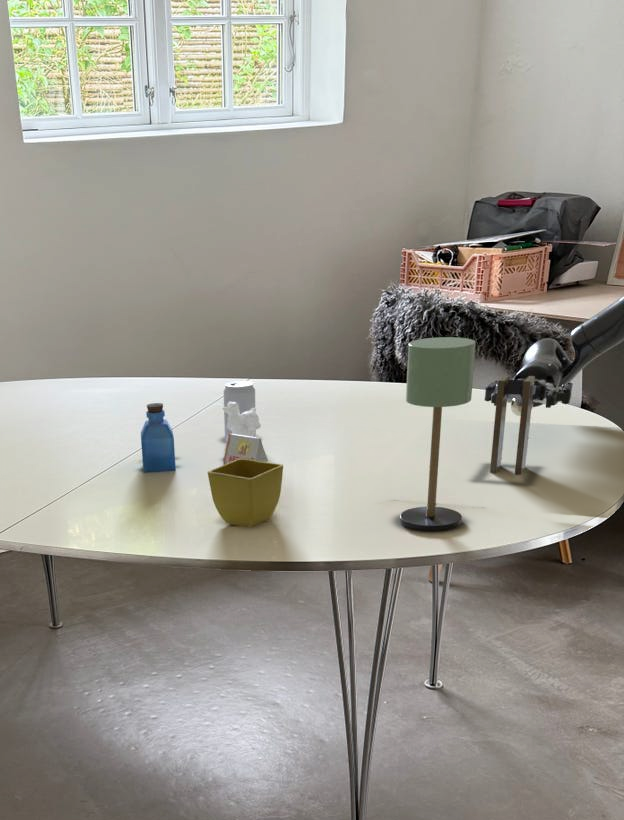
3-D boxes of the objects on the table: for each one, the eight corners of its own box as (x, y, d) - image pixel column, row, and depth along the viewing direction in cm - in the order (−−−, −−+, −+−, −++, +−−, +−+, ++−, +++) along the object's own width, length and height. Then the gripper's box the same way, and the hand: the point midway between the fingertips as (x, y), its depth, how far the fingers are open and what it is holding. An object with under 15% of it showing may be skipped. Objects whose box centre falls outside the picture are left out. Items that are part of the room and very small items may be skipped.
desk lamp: (442, 512, 149) (454, 335, 138) (472, 530, 142) (488, 343, 130) (389, 520, 148) (397, 341, 136) (417, 538, 140) (428, 350, 128)
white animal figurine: (234, 471, 178) (232, 407, 173) (212, 464, 183) (210, 402, 178) (268, 461, 182) (268, 398, 177) (246, 455, 187) (244, 394, 182)
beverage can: (229, 437, 200) (227, 380, 195) (259, 438, 198) (258, 380, 193) (221, 445, 195) (219, 386, 190) (252, 446, 193) (250, 386, 188)
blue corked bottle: (175, 470, 182) (171, 407, 176) (143, 472, 182) (138, 409, 176) (174, 461, 187) (170, 400, 182) (142, 463, 187) (138, 402, 182)
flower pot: (208, 525, 152) (205, 471, 148) (241, 510, 157) (239, 457, 153) (252, 535, 146) (251, 479, 142) (285, 519, 152) (285, 464, 148)
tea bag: (237, 486, 169) (236, 431, 165) (268, 492, 165) (267, 435, 160) (224, 492, 167) (222, 435, 163) (254, 498, 163) (253, 440, 158)
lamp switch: (510, 417, 168) (513, 397, 167) (532, 418, 166) (535, 398, 166) (501, 397, 156) (504, 375, 156) (524, 398, 154) (528, 376, 154)
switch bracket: (488, 467, 169) (497, 371, 161) (536, 471, 165) (547, 372, 157) (476, 484, 161) (485, 383, 153) (526, 488, 157) (537, 385, 150)
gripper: (575, 403, 175) (563, 424, 163) (495, 400, 182) (477, 420, 169) (580, 362, 172) (568, 380, 160) (498, 360, 179) (481, 377, 166)
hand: (521, 401), depth 164 cm, fingers open, 8 cm apart
